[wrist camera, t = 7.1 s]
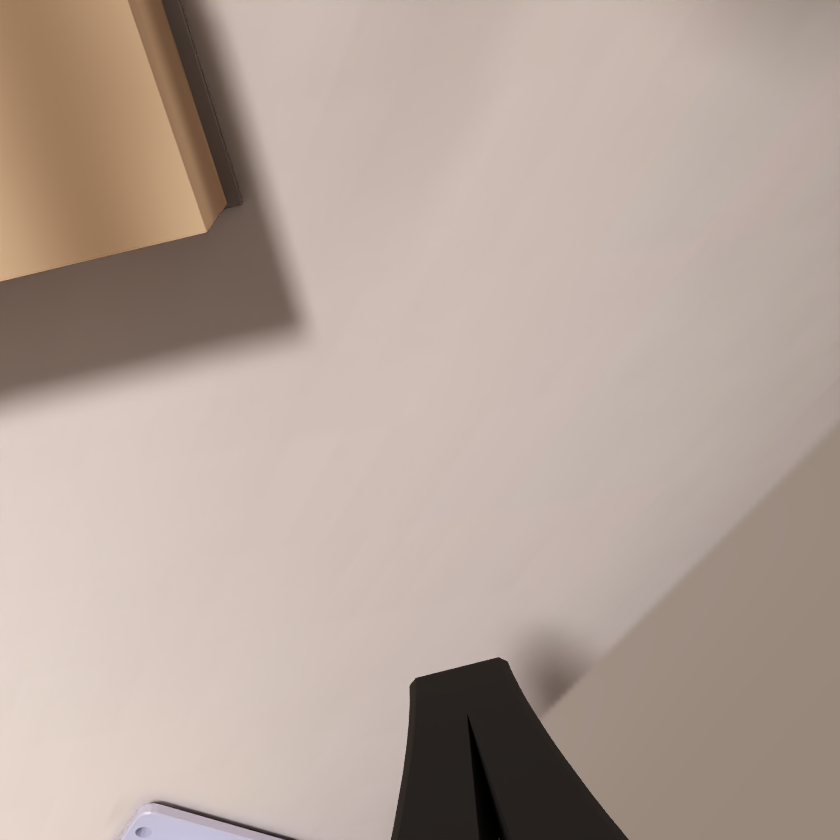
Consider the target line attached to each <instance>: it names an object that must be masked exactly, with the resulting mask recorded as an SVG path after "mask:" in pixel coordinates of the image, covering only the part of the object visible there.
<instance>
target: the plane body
mask: <svg viewBox="0 0 840 840" xmlns="http://www.w3.org/2000/svg"><path fill="white" fill-rule="evenodd" d="M242 203H243V201H242V198H241V195H240V192H239V188H238V185H237V182H236V179H235V176H234V172H233V169H232V166H231V163H230V160H229V156H228V153H227V150H226V147H225V144H224V140H223V137H222V134H221V131H220V128H219V124H218V121H217V118H216V115H215V112H214V108H213V105H212V102H211V99H210V96H209V92H208V89H207V86H206V83H205V80H204V76H203V73H202V70H201V67H200V64H199V60H198V57H197V54H196V51H195V48H194V44H193V41H192V38H191V35H190V32H189V28H188V25H187V22H186V19H185V16H184V12H183V9H182V6H181V3H180V0H0V281H4V280H9V279H13V278H17V277H21V276H25V275H30V274H34V273H38V272H42V271H46V270H51V269H55V268H59V267H63V266H67V265H72V264H76V263H80V262H84V261H88V260H93V259H97V258H101V257H105V256H109V255H114V254H118V253H122V252H126V251H130V250H135V249H139V248H143V247H147V246H152V245H156V244H160V243H164V242H168V241H173V240H177V239H181V238H185V237H189V236H194V235H198V234H202V233H206V232H207V231H208V230H209V229H210V227H211V226H212V224H213V223H214V221H215V220H216V219H217V217H218V216H219V214H220V213H221V211H222V210H223V209H226V208H230V207H235V206H239V205H242Z"/></svg>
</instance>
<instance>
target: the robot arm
mask: <svg viewBox="0 0 840 840" xmlns="http://www.w3.org/2000/svg"><path fill="white" fill-rule="evenodd" d="M117 840H284V839H280V838H277V837H273V836H270V835H266V834H263V833H259V832H256V831H252V830H249V829H245V828H241V827H238V826H234V825H231V824H227V823H224V822H220V821H217V820H213V819H210V818H206V817H203V816H199V815H196V814H192V813H189V812H185V811H182V810H178V809H175V808H171V807H168V806H164V805H161V804H156V803H149V804H145V805H143V806H141V807H140V808H139V809H138V810H137V811H136V813H135V814H134V816H133V817H132V819H131V820H130V822H129V823H128V825H127V826H126V827H125V829H124V830H123V832H122V833H121V835H120V836H119V838H118V839H117ZM391 840H628V838H627V837H626V836H625V835H624V834H623V832H622V831H621V830H620V829H619V827H618V826H617V825H616V824H615V823H614V821H613V820H612V819H611V818H610V817H609V815H608V814H607V813H606V812H605V810H604V809H603V808H602V806H601V805H600V804H599V803H598V801H597V800H596V799H595V798H594V796H593V795H592V794H591V792H590V791H589V790H588V788H587V787H586V786H585V784H584V783H583V782H582V781H581V779H580V778H579V776H578V775H577V774H576V772H575V771H574V770H573V768H572V767H571V765H570V764H569V763H568V761H567V760H566V759H565V757H564V756H563V755H562V753H561V752H560V750H559V749H558V748H557V746H556V745H555V743H554V742H553V740H552V739H551V737H550V736H549V734H548V733H547V731H546V730H545V728H544V727H543V725H542V724H541V722H540V720H539V719H538V717H537V716H536V714H535V713H534V711H533V709H532V708H531V706H530V704H529V703H528V701H527V699H526V698H525V696H524V694H523V692H522V691H521V689H520V687H519V685H518V683H517V681H516V679H515V677H514V675H513V673H512V671H511V669H510V666H509V664H508V662H507V661H505V660H503V659H501V658H499V657H498V658H494V659H490V660H486V661H482V662H478V663H474V664H470V665H466V666H462V667H458V668H454V669H450V670H446V671H442V672H438V673H434V674H430V675H426V676H422V677H418V678H415V680H414V681H413V682H412V683H411V685H410V710H409V727H408V737H407V746H406V754H405V762H404V770H403V776H402V782H401V788H400V793H399V799H398V805H397V811H396V816H395V822H394V827H393V832H392V837H391Z"/></svg>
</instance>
